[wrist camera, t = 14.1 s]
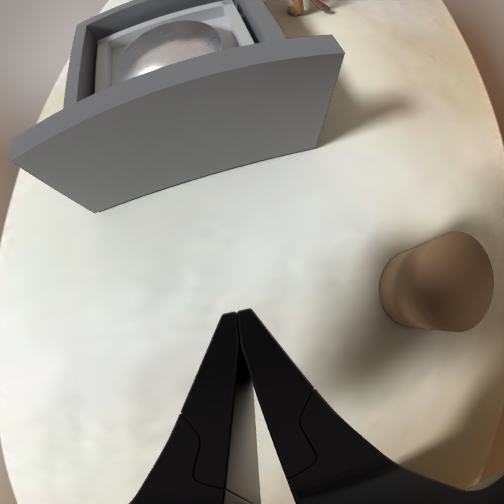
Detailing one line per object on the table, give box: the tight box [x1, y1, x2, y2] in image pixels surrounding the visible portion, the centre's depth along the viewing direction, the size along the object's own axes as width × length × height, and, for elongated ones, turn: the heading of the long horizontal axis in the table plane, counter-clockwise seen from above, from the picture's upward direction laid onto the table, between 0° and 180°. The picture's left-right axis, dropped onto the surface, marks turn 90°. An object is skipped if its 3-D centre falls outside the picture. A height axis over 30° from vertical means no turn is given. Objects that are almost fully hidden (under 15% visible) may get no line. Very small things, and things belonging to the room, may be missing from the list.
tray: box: [11, 0, 345, 213], centre depth 14 cm, size 14×14×8 cm
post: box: [379, 232, 494, 332], centre depth 13 cm, size 4×4×5 cm
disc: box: [119, 20, 222, 81], centre depth 17 cm, size 7×7×2 cm
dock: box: [63, 0, 287, 109], centre depth 17 cm, size 15×14×4 cm
